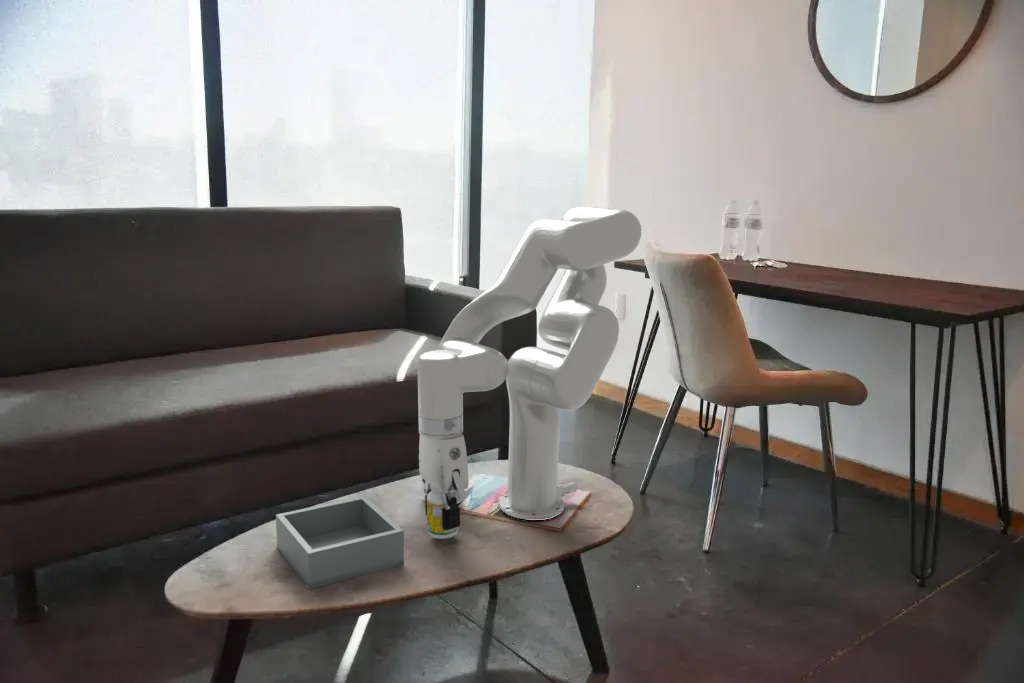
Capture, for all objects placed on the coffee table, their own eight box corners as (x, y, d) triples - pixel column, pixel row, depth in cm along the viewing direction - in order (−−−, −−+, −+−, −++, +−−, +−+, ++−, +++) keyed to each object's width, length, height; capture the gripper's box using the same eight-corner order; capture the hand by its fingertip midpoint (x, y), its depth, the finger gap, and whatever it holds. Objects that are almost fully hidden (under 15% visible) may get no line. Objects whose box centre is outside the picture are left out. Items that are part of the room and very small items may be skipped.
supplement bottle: (454, 540, 140) (453, 488, 137) (424, 538, 140) (422, 487, 138) (460, 526, 145) (460, 476, 143) (431, 524, 146) (430, 474, 143)
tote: (365, 527, 146) (364, 495, 145) (403, 564, 133) (403, 530, 132) (277, 547, 138) (275, 514, 136) (309, 589, 125) (308, 553, 123)
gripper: (485, 434, 133) (486, 535, 137) (436, 406, 147) (438, 498, 151) (445, 442, 129) (447, 546, 133) (398, 413, 143) (401, 508, 147)
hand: (442, 520), depth 142 cm, fingers closed on supplement bottle, 5 cm apart
